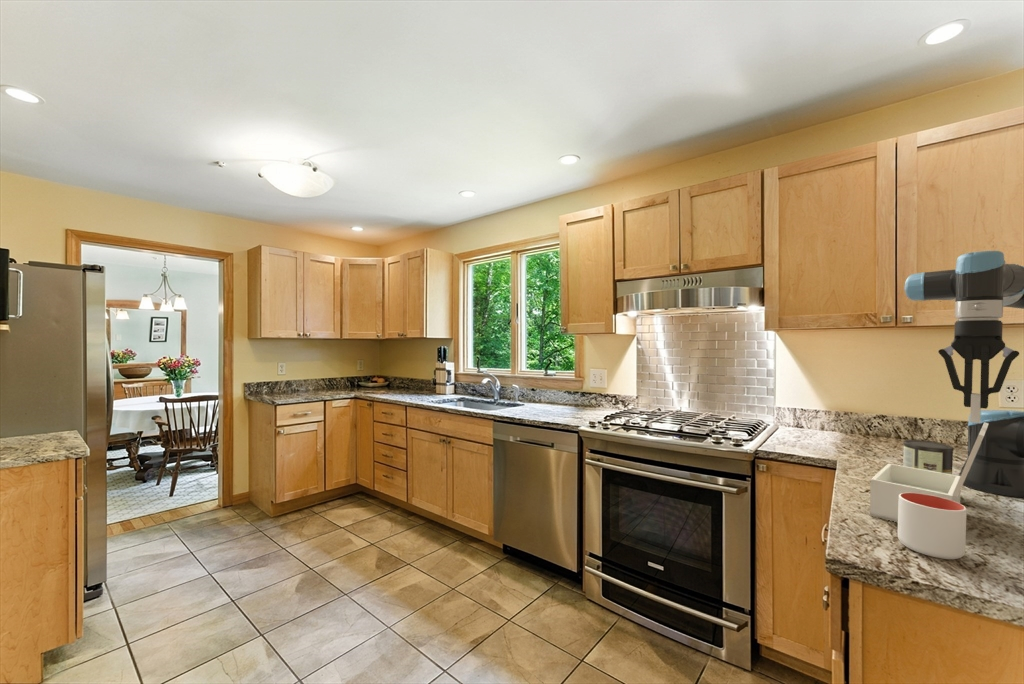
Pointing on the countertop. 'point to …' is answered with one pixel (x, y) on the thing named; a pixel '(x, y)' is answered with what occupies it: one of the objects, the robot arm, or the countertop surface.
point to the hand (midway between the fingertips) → (975, 421)
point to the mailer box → (907, 488)
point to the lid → (970, 459)
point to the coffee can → (928, 456)
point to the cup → (932, 525)
